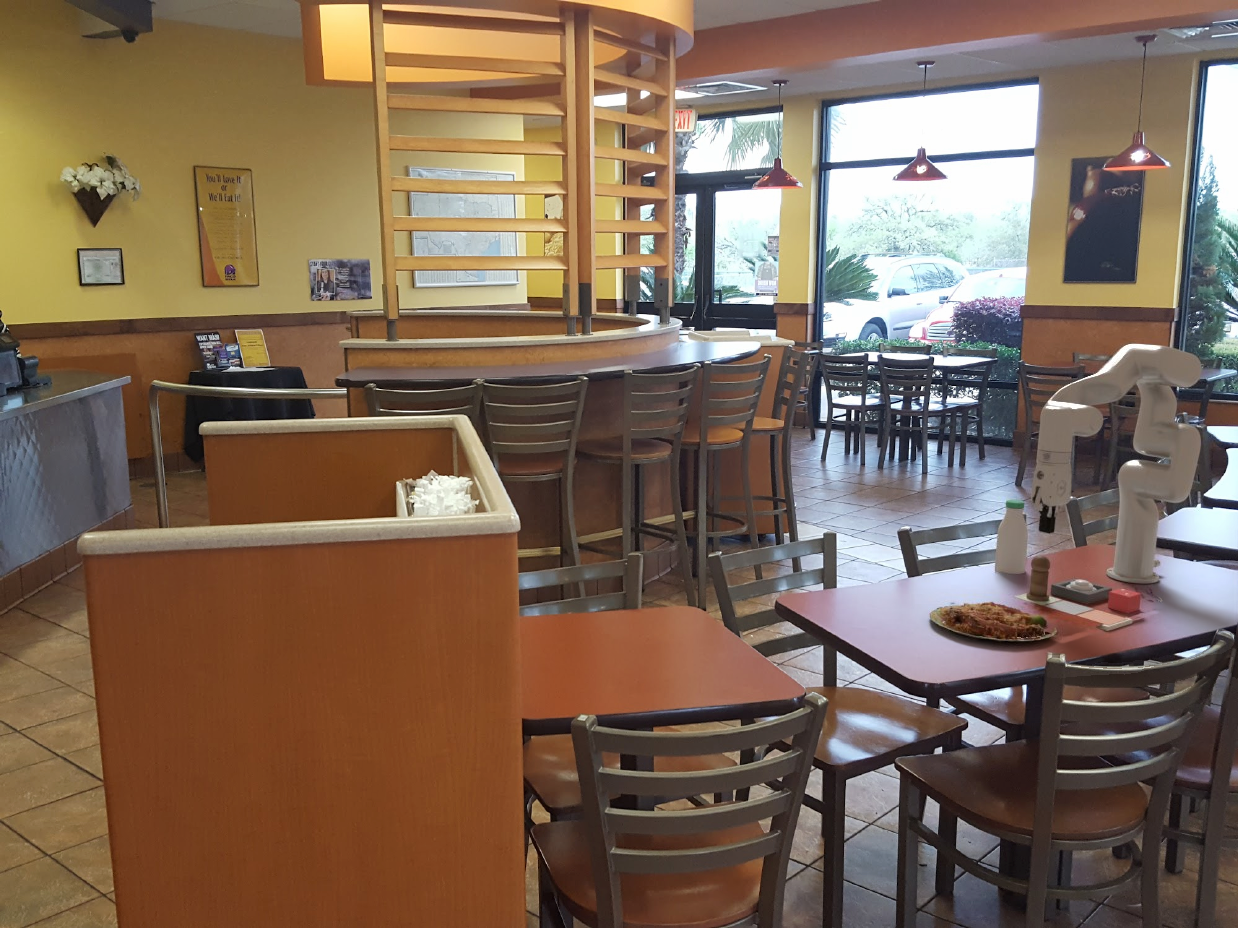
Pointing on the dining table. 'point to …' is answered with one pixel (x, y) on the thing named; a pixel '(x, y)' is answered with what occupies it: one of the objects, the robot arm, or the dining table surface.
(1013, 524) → the milk bottle
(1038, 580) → the wooden pepper mill
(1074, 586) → the dome
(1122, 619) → the board
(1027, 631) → the rice dish
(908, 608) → the dining table surface
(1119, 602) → the die
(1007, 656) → the dining table surface
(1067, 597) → the dome housing
